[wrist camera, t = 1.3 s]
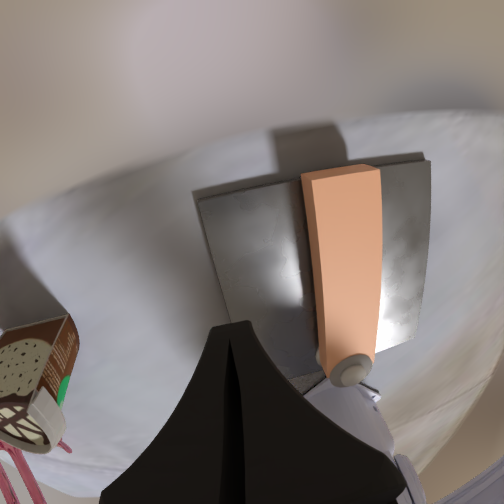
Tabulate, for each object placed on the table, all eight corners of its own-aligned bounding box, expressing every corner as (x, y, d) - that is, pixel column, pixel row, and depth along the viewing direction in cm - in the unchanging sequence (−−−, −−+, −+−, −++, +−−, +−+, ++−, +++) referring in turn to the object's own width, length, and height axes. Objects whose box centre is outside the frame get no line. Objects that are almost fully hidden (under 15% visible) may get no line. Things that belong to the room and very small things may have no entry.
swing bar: (362, 359, 23) (375, 383, 21) (319, 372, 23) (330, 398, 21) (361, 163, 16) (387, 172, 13) (299, 173, 16) (316, 183, 13)
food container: (31, 375, 22) (0, 447, 13) (-2, 331, 19) (-47, 401, 10) (119, 365, 22) (95, 465, 13) (82, 310, 19) (32, 412, 10)
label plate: (425, 159, 17) (432, 161, 17) (411, 335, 25) (415, 340, 24) (198, 199, 17) (197, 203, 16) (251, 383, 24) (252, 390, 23)
